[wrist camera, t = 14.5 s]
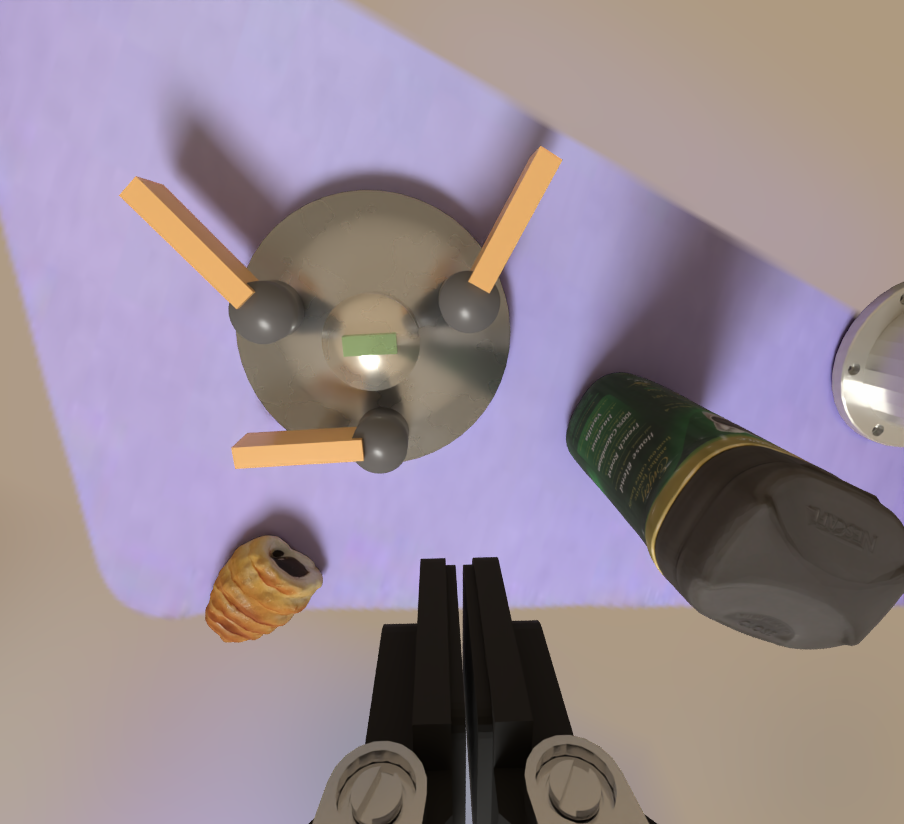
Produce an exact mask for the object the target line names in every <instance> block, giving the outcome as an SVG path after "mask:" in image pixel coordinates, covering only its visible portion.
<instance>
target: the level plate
mask: <svg viewBox="0 0 904 824" xmlns="http://www.w3.org/2000/svg"><path fill="white" fill-rule="evenodd" d="M481 249H482V248H481V246H480V245H479V244H478V243H477V241H476V240H475V239H474V238H473V237H472V236H471V235H470V234H469V233H468V231H467V230H465V229H464V228H463V227H462V226H461V225H460V224H458V223H457V222H456V221H455V220H454V219H453V218H451V217H449V216H448V215H446V214H445V213H443V212H442V211H440V210H439V209H437V208H435V207H433V206H431V205H429V204H427V203H425V202H423V201H421V200H418V199H415V198H412V197H409V196H406V195H402V194H398V193H393V192H387V191H379V190H357V191H349V192H341V193H338V194H334V195H330V196H326V197H323V198H321V199H318V200H316V201H313V202H311V203H309V204H306V205H305V206H303V207H301V208H300V209H298V210H297V211H295V212H293V213H292V214H290V215H289V216H288V217H286V218H285V219H284V220H283V221H282V222H280V223H279V224H278V225H277V226H276V227H275V228H274V229H273V230H272V231H271V232H270V233H269V234H268V235H267V237H266V238H265V239H264V240H263V241H262V243H261V244H260V246H259V247H258V249H257V250H256V252H255V253H254V255H253V256H252V258H251V260H250V263H249V265H248V267H247V269H248V270H249V271H250V272H251V273H252V274H253V275H254V276H255V277H256V278H257V279H258V280H259V281H264V280H279V281H282V282H285V283H287V284H289V285H290V286H292V287H293V288H294V289H295V290H296V291H297V292H298V294H299V295H300V297H301V299H302V301H303V304H304V318H303V321H302V323H301V325H300V327H299V328H298V329H297V330H296V331H295V332H294V333H292V334H290V335H288V336H286V337H284V338H282V339H280V340H278V341H276V342H274V343H270V344H257V343H253V342H250V341H248V340H246V339H245V338H243V337H242V336H241V335H240V334H239V333H238V332H237V331H236V336H237V345H238V349H239V354H240V358H241V362H242V365H243V367H244V370H245V373H246V375H247V378H248V380H249V382H250V384H251V386H252V388H253V390H254V392H255V393H256V395H257V397H258V398H259V400H260V401H261V402H262V404H263V405H264V407H265V408H266V410H267V411H268V412H269V413H270V414H271V415H272V416H273V417H274V418H275V420H276V421H277V422H278V423H279V424H280V425H282V426H283V427H284V428H285V429H286V430H287V431H291V430H308V429H325V428H342V427H357V425H358V423H359V421H360V419H361V418H362V416H363V415H364V414H365V413H366V412H368V411H370V410H372V409H374V408H378V407H387V408H391V409H394V410H396V411H397V412H399V413H400V414H401V415H402V416H403V417H404V418H405V420H406V421H407V424H408V427H409V440H408V449H407V455H406V457H405V459H404V461H408V460H412V459H416V458H420V457H422V456H425V455H427V454H430V453H433V452H435V451H437V450H439V449H441V448H442V447H444V446H446V445H448V444H450V443H451V442H452V441H454V440H455V439H457V438H458V437H459V436H461V435H462V434H463V433H464V432H465V431H466V430H468V429H469V428H470V427H471V426H472V425H473V424H474V423H475V422H476V421H477V419H478V418H479V417H480V416H481V415H482V413H483V412H484V411H485V410H486V408H487V406H488V405H489V403H490V402H491V400H492V399H493V397H494V395H495V393H496V391H497V389H498V387H499V384H500V382H501V380H502V377H503V373H504V370H505V367H506V363H507V358H508V352H509V344H510V321H509V311H508V306H507V302H506V297H505V293H504V290H503V288H502V285H501V282H500V279H499V277H498V279H497V281H496V282H495V285H496V286H497V289H498V291H499V294H500V309H499V312H498V315H497V317H496V319H495V320H494V322H493V323H492V324H491V325H490V326H489V327H487V328H486V329H484V330H482V331H480V332H476V333H462V332H459V331H457V330H455V329H453V328H452V327H451V326H449V325H448V324H447V322H446V321H445V320H444V318H443V316H442V314H441V311H440V308H439V303H438V296H439V291H440V288H441V286H442V284H443V283H444V281H445V280H446V279H447V278H448V277H449V276H451V275H452V274H454V273H456V272H459V271H470V269H471V268H472V266H473V264H474V262H475V260H476V258H477V256H478V254H479V252H480V251H481ZM404 461H403V462H404ZM354 462H356V461H354Z"/></svg>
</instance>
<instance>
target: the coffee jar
mask: <svg viewBox="0 0 904 824" xmlns="http://www.w3.org/2000/svg"><path fill="white" fill-rule="evenodd" d="M566 442H567V447H568V450H569V452H570V454H571V455H572V456H573V458H574V459H575V460H576V462H577V463H578V464H579V465H580V467H581V468H582V469H583V470H584V471H585V472H586V474H587V475H588V476H589V477H590V478H591V479H592V480H593V482H594V483H595V484H596V485H597V486H598V487H599V488H600V489H601V491H602V492H603V493H604V494H605V495H606V496H607V498H608V499H609V500H610V501H611V502H612V504H613V505H614V506H615V507H616V508H617V510H618V511H619V512H620V513H621V515H622V516H623V517H624V518H625V519H626V521H627V522H628V523H629V524H630V525H631V527H632V528H633V529H634V530H635V531H636V533H637V534H638V535H639V536H640V538H641V539H642V540H643V541H644V543H645V544H646V546H647V548H648V551H649V554H650V556H651V558H652V560H653V562H654V563H655V565H656V567H657V568H658V570H659V571H660V572H661V573H662V575H663V576H664V577H665V578H666V579H667V580H668V581H669V582H670V583H671V584H672V585H673V586H674V587H675V588H676V590H677V591H678V592H679V593H680V594H681V595H682V596H683V597H684V598H685V599H686V601H687V602H688V603H689V604H690V605H692V606H693V607H694V608H695V609H696V610H697V611H698V612H699V613H701V614H702V615H704V616H706V617H708V618H710V619H712V620H715V621H717V622H719V623H721V624H723V625H725V626H727V627H730V628H732V629H734V630H736V631H739V632H741V633H744V634H746V635H749V636H752V637H755V638H758V639H761V640H764V641H767V642H771V643H774V644H776V645H780V646H784V647H788V648H795V649H824V648H831V647H837V646H841V645H850V646H853V645H857V644H859V643H860V642H861V641H862V640H863V639H864V638H865V637H866V636H867V635H868V633H870V631H871V630H872V629H873V628H874V627H875V626H876V625H877V624H878V623H879V622H880V621H881V620H882V618H883V617H884V616H885V615H886V614H887V613H888V612H889V610H890V609H891V608H892V607H893V606H894V605H895V603H896V602H897V601H898V600H899V598H900V597H901V596H902V594H903V593H904V526H903V524H902V523H901V521H900V520H899V519H898V518H897V516H896V515H895V514H894V513H893V512H892V511H890V510H889V509H888V508H886V507H885V506H884V505H882V504H881V503H880V502H879V500H878V498H877V497H876V496H875V495H873V494H871V493H868V492H866V491H864V490H862V489H859V488H857V487H855V486H853V485H851V484H849V483H847V482H845V481H843V480H841V479H840V478H838V477H836V476H835V475H833V474H831V473H829V472H827V471H826V470H824V469H822V468H819V467H817V466H815V465H813V464H811V463H809V462H807V461H805V460H803V459H801V458H800V457H798V456H796V455H794V454H792V453H790V452H788V451H786V450H784V449H782V448H780V447H778V446H776V445H775V444H773V443H771V442H769V441H767V440H765V439H763V438H761V437H759V436H757V435H755V434H754V433H752V432H750V431H748V430H746V429H744V428H742V427H740V426H739V425H737V424H734V423H732V422H731V421H729V420H727V419H725V418H723V417H721V416H719V415H717V414H715V413H713V412H711V411H709V410H707V409H705V408H704V407H702V406H700V405H698V404H696V403H694V402H692V401H691V400H689V399H687V398H685V397H683V396H681V395H679V394H677V393H675V392H673V391H672V390H669V389H667V388H665V387H663V386H661V385H659V384H657V383H655V382H652V381H650V380H648V379H645V378H642V377H639V376H636V375H633V374H629V373H620V372H619V373H612V374H608V375H606V376H603V377H602V378H600V379H599V380H597V381H596V382H595V383H593V384H592V385H591V387H590V388H589V389H588V390H587V392H586V393H585V394H584V396H583V397H582V399H581V401H580V402H579V404H578V406H577V407H576V409H575V411H574V413H573V415H572V417H571V420H570V422H569V425H568V428H567V433H566Z"/></svg>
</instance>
